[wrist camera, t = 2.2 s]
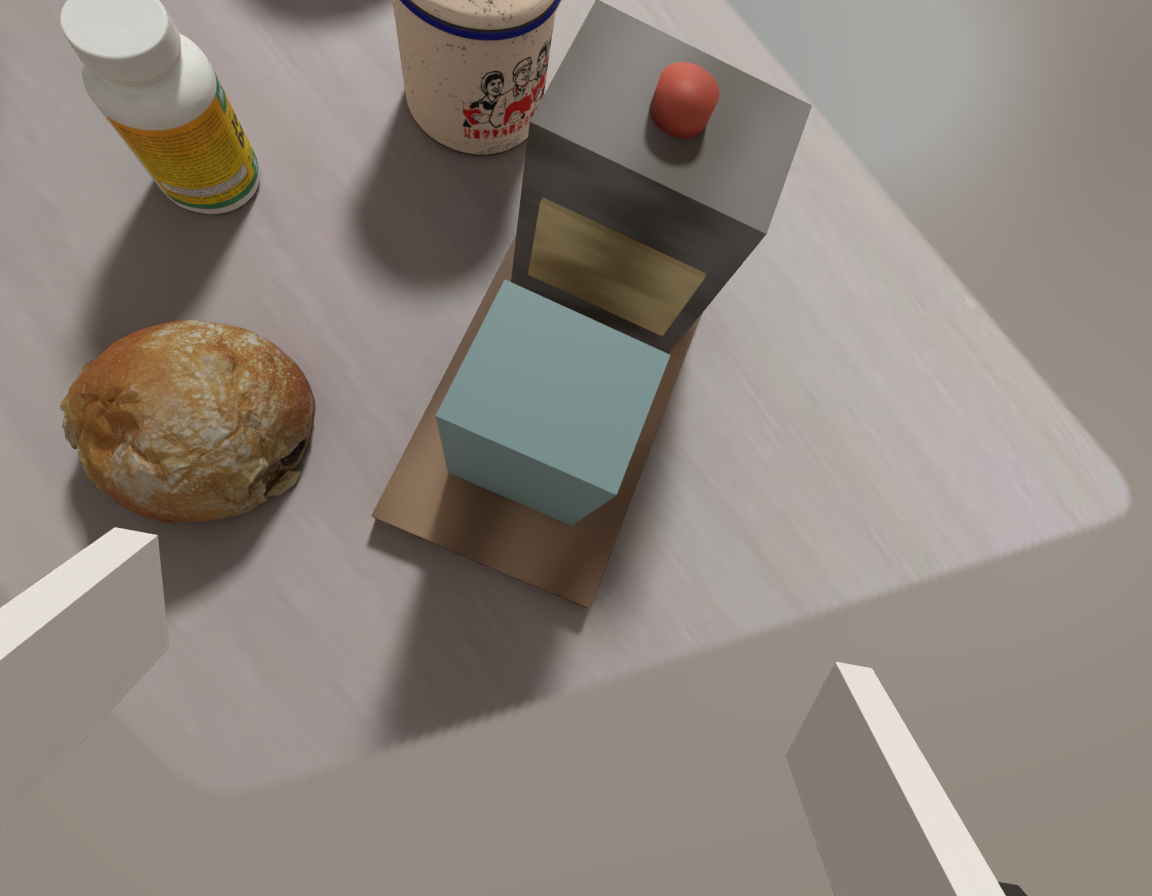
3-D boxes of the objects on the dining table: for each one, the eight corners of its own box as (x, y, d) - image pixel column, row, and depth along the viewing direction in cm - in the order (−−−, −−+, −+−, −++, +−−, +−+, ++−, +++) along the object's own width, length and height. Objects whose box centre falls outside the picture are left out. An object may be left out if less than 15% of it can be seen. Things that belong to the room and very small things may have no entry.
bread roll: (253, 547, 32) (270, 560, 25) (26, 477, 27) (-28, 471, 20) (329, 391, 35) (361, 365, 28) (135, 301, 30) (119, 244, 23)
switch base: (375, 518, 30) (291, 456, 16) (539, 198, 36) (579, -43, 23) (585, 607, 31) (676, 620, 17) (710, 278, 37) (850, 92, 23)
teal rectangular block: (447, 472, 30) (435, 415, 20) (495, 374, 32) (504, 279, 22) (571, 525, 30) (616, 494, 21) (611, 426, 32) (670, 355, 22)
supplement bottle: (140, 165, 32) (9, -3, 23) (227, 122, 34) (135, -52, 25) (198, 235, 32) (88, 91, 23) (283, 188, 34) (211, 36, 24)
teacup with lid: (474, 187, 36) (475, 3, 25) (371, 90, 36) (325, -134, 25) (601, 89, 39) (651, -110, 28) (505, 2, 40) (517, -229, 28)
